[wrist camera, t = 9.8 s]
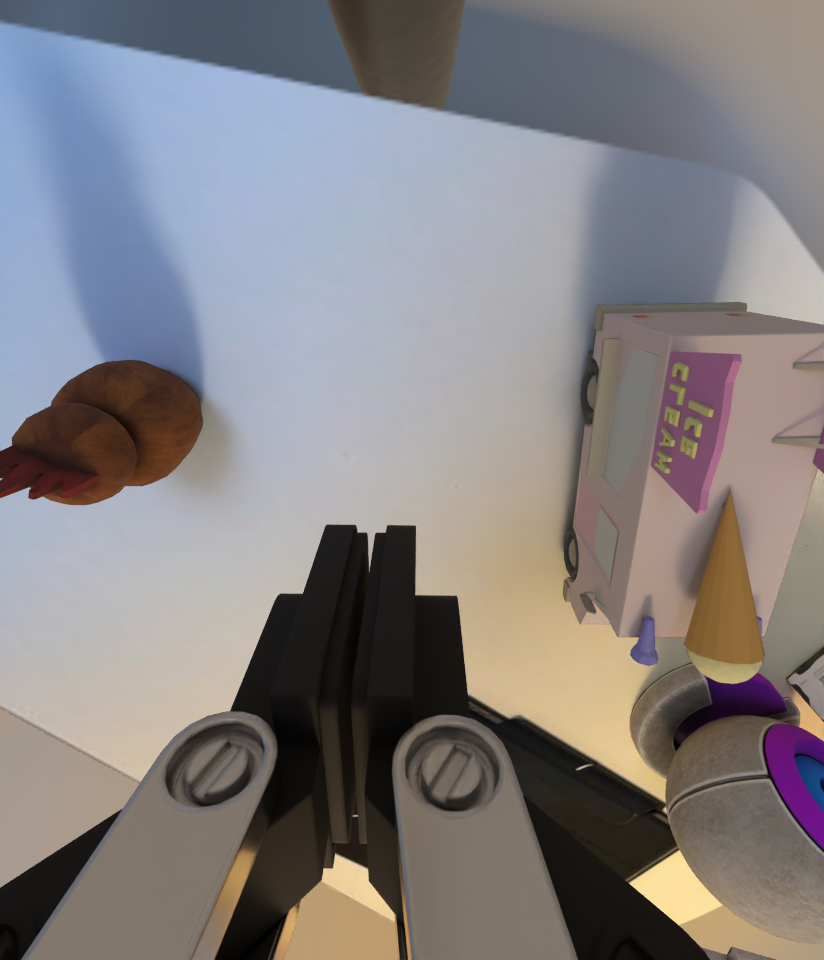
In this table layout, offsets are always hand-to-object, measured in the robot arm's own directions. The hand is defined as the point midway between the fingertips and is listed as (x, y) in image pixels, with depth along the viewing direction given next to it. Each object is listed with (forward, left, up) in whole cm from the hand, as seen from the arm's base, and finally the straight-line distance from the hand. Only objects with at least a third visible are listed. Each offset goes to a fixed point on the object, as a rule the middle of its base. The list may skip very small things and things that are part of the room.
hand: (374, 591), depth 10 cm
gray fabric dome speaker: (+30, +26, -24) cm, 46 cm away
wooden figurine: (+3, -16, -24) cm, 29 cm away
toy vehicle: (+6, +15, -24) cm, 29 cm away
